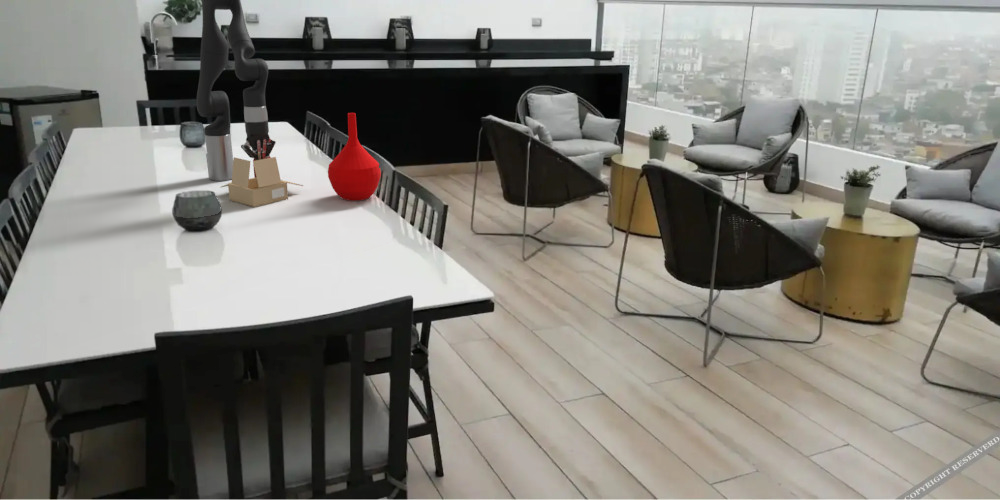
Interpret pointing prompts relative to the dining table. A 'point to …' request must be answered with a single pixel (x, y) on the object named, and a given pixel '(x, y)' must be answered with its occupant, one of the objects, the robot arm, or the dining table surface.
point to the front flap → (267, 172)
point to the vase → (354, 168)
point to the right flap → (240, 172)
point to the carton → (258, 193)
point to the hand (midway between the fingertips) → (260, 169)
